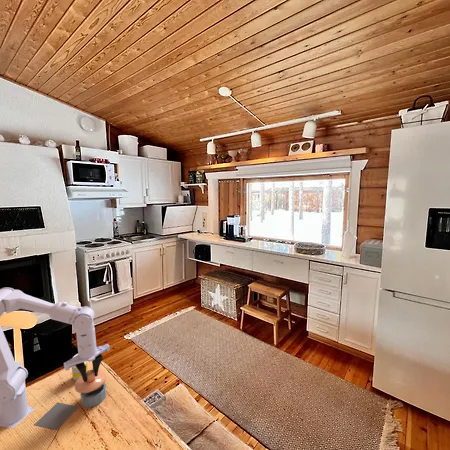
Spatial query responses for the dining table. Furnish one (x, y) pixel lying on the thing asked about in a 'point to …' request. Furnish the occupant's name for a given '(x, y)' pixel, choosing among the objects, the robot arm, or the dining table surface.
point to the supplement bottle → (77, 371)
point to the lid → (90, 382)
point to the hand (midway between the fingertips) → (90, 377)
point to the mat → (56, 416)
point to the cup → (94, 396)
